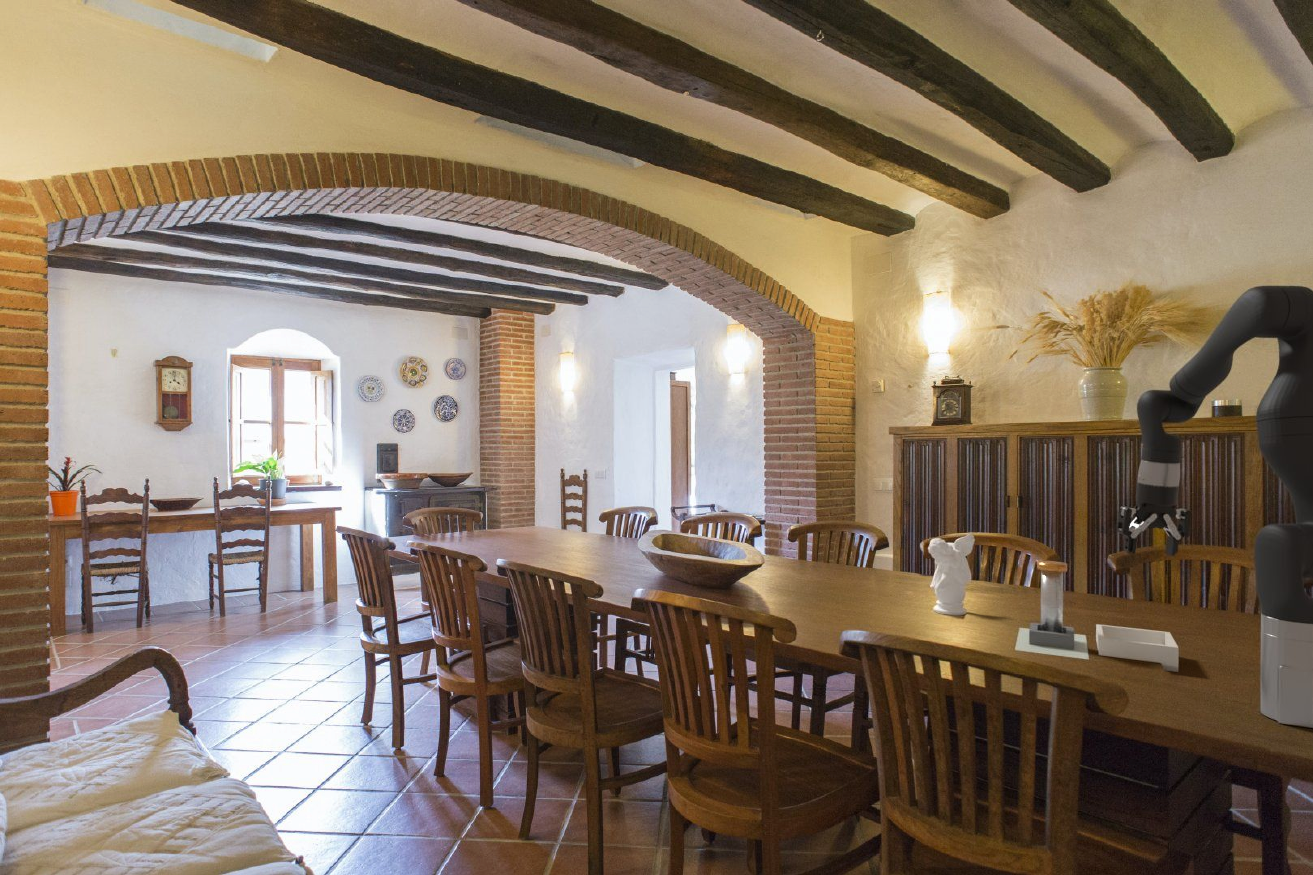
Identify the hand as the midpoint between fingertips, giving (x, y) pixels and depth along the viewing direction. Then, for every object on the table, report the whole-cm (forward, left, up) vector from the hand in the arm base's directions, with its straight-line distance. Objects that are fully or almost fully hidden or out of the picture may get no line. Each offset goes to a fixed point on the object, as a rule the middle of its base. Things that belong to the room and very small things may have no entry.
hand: (1150, 554), depth 163 cm
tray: (-3, +3, -22) cm, 23 cm away
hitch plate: (-4, +19, -22) cm, 30 cm away
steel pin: (-4, +19, -21) cm, 29 cm away
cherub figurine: (+25, +44, -23) cm, 55 cm away
